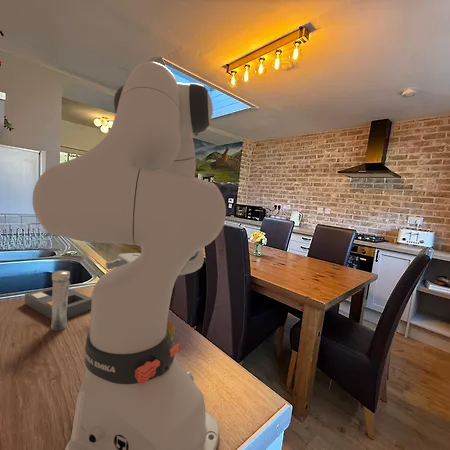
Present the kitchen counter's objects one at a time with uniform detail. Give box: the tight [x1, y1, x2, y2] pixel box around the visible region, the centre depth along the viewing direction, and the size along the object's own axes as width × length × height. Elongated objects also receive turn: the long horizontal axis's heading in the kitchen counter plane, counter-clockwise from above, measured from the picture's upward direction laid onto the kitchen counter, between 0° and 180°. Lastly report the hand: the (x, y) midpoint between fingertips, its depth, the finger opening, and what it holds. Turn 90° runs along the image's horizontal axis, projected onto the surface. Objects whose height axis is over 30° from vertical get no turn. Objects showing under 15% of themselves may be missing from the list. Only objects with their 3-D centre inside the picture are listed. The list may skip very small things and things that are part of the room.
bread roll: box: [167, 320, 177, 343], centre depth 64 cm, size 8×9×4 cm
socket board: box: [24, 286, 92, 320], centre depth 74 cm, size 16×10×3 cm, turn 61°
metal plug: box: [50, 270, 71, 332], centre depth 63 cm, size 4×4×14 cm
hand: (112, 270), depth 71 cm, fingers open, 8 cm apart
